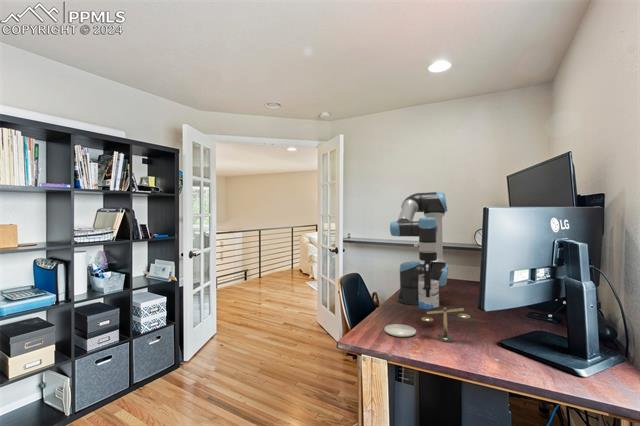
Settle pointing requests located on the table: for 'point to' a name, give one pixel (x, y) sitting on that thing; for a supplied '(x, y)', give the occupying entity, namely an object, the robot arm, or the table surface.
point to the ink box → (433, 293)
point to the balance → (445, 322)
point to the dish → (400, 330)
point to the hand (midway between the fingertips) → (428, 301)
